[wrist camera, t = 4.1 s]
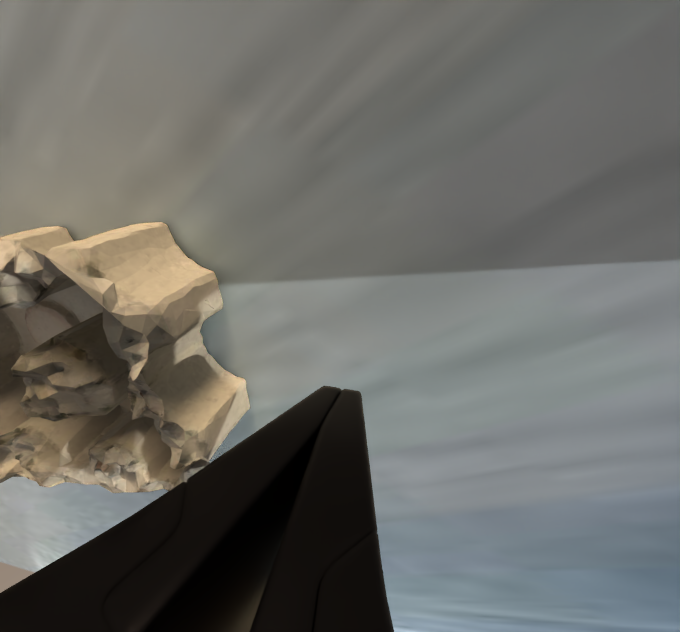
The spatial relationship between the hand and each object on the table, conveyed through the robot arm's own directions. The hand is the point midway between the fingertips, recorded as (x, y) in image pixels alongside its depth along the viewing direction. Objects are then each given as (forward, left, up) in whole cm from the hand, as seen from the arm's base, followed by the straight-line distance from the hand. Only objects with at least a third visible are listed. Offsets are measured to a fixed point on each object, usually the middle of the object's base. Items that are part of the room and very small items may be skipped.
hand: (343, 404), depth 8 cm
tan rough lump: (+9, 0, -2) cm, 9 cm away
